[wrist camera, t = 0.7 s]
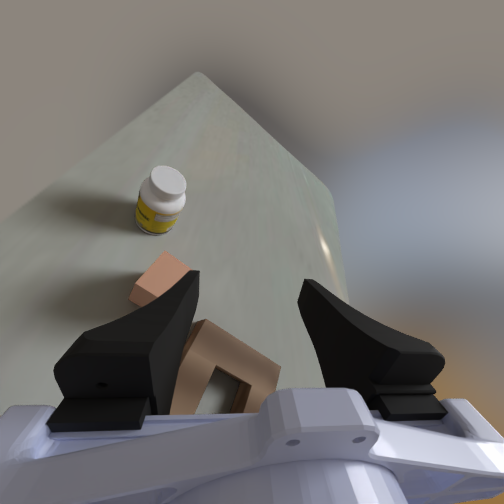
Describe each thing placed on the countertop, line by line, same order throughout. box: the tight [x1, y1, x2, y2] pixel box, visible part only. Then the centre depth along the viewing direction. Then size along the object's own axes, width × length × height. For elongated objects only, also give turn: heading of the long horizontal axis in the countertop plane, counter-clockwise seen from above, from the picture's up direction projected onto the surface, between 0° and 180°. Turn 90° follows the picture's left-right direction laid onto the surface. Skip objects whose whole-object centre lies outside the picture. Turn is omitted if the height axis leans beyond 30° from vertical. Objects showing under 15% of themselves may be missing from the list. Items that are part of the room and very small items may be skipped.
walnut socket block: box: [170, 319, 281, 415], centre depth 24 cm, size 14×14×3 cm
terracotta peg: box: [128, 251, 192, 307], centre depth 23 cm, size 4×4×8 cm
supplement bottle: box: [135, 166, 186, 235], centre depth 26 cm, size 5×5×10 cm
